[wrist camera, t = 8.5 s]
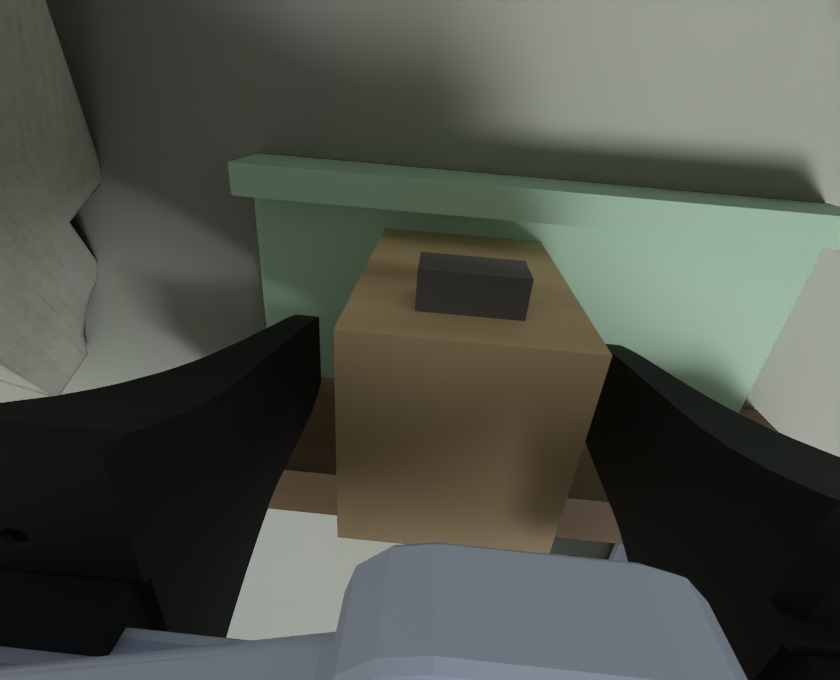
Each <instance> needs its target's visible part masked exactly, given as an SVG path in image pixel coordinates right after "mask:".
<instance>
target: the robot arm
mask: <svg viewBox="0 0 840 680" xmlns="http://www.w3.org/2000/svg"><path fill="white" fill-rule="evenodd" d="M606 346H607V348H608V349H609V351H610V352H611V354H612V359H611V362H610V365H609V368H608V371H607V374H606V377H605V381H604V384H603V387H602V390H601V393H600V396H599V400H598V403H597V406H596V409H595V412H594V415H593V418H592V422H591V425H590V428H589V431H588V434H587V437H586V440H585V442H586V445H587V448H588V450H589V453H590V455H591V458H592V461H593V463H594V466H595V468H596V471H597V473H598V476H599V478H600V481H601V483H602V486H603V488H604V491H605V493H606V496H607V498H608V501H609V503H610V506H611V508H612V511H613V513H614V516H615V519H616V522H617V525H618V528H619V531H620V534H621V538H622V542H623V544H615V545H614V547H613V550H612V552H611V554H610V557H609V559H608V560H605V559H596V558H586V557H576V556H567V555H557V554H547V553H537V552H528V551H518V550H508V549H499V548H489V547H479V546H470V545H460V544H450V543H440V542H432V543H419V544H405V545H395V546H393V547H390V548H389V549H387V550H385V551H383V552H381V553H379V554H377V555H375V556H374V557H372V558H370V559H368V560H366V561H364V562H362V563H361V564H359V565H357V566H356V568H355V570H354V573H353V575H352V577H351V579H350V581H349V584H348V586H347V588H346V590H345V594H344V598H343V603H342V608H341V612H340V617H339V621H338V626H337V631H336V632H329V633H319V634H309V635H300V636H290V637H281V638H271V639H261V640H252V641H249V640H240V639H231V638H226V636H227V632H228V629H229V626H230V622H231V619H232V615H233V612H234V609H235V606H236V603H237V599H238V596H239V593H240V590H241V586H242V583H243V580H244V577H245V574H246V570H247V567H248V564H249V561H250V558H251V555H252V552H253V549H254V547H255V544H256V541H257V538H258V535H259V532H260V529H261V526H262V523H263V520H264V518H265V515H266V512H267V509H268V506H269V504H270V501H271V498H272V495H273V493H274V491H275V488H276V486H277V484H278V481H279V479H280V477H281V475H282V473H283V471H284V469H285V467H286V465H287V463H288V461H289V459H290V457H291V455H292V453H293V451H294V449H295V447H296V445H297V443H298V441H299V439H300V437H301V434H302V432H303V430H304V428H305V426H306V424H307V422H308V420H309V418H310V416H311V414H312V411H313V408H314V405H315V402H316V399H317V395H318V392H319V389H320V385H321V359H320V329H319V317H317V316H307V315H293V316H290V317H288V318H286V319H284V320H282V321H280V322H278V323H276V324H274V325H272V326H270V327H268V328H266V329H264V330H262V331H260V332H258V333H256V334H254V335H252V336H250V337H248V338H246V339H244V340H242V341H240V342H238V343H236V344H233V345H231V346H229V347H227V348H224V349H222V350H220V351H218V352H216V353H213V354H211V355H209V356H206V357H204V358H201V359H199V360H196V361H193V362H191V363H188V364H185V365H182V366H179V367H176V368H173V369H170V370H167V371H164V372H161V373H157V374H153V375H149V376H146V377H142V378H138V379H135V380H131V381H127V382H123V383H119V384H115V385H110V386H106V387H101V388H96V389H91V390H86V391H80V392H75V393H69V394H64V395H57V396H51V397H44V398H36V399H28V400H20V401H12V402H5V403H0V680H840V457H838V456H835V455H832V454H830V453H827V452H825V451H822V450H820V449H817V448H815V447H812V446H810V445H807V444H805V443H802V442H800V441H797V440H795V439H792V438H790V437H788V436H785V435H783V434H781V433H779V432H776V431H774V430H772V429H770V428H768V427H766V426H764V425H761V424H759V423H757V422H755V421H753V420H751V419H749V418H747V417H745V416H743V415H741V414H739V413H737V412H735V411H733V410H731V409H729V408H727V407H725V406H724V405H722V404H720V403H718V402H717V401H715V400H713V399H711V398H709V397H708V396H706V395H704V394H702V393H701V392H699V391H697V390H696V389H694V388H692V387H691V386H689V385H687V384H686V383H684V382H682V381H681V380H679V379H677V378H676V377H674V376H673V375H671V374H669V373H668V372H666V371H665V370H663V369H662V368H660V367H658V366H657V365H655V364H654V363H652V362H650V361H649V360H647V359H645V358H644V357H642V356H640V355H639V354H637V353H635V352H634V351H632V350H630V349H628V348H626V347H624V346H621V345H614V344H606Z"/></svg>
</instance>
